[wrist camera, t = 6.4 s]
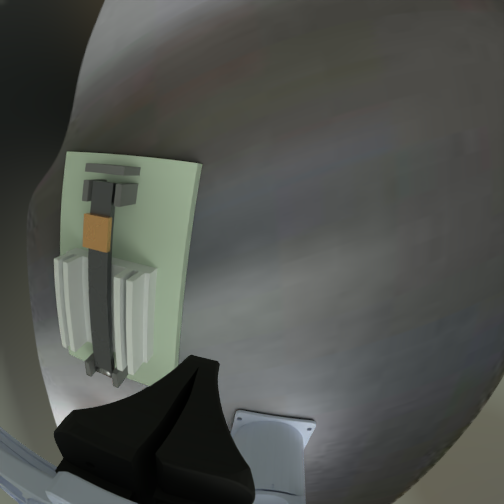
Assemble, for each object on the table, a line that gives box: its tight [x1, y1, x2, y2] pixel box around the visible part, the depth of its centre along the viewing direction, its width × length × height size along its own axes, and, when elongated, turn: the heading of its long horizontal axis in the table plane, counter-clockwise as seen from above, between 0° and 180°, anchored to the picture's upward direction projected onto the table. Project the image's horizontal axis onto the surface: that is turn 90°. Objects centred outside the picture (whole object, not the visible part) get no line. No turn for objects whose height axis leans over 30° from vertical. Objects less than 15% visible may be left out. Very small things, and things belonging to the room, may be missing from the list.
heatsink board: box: [54, 152, 202, 388], centre depth 21 cm, size 20×12×5 cm, turn 170°
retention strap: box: [83, 181, 118, 378], centre depth 20 cm, size 16×2×1 cm, turn 170°
